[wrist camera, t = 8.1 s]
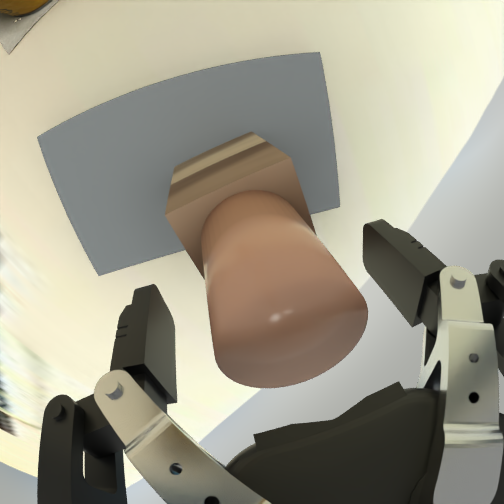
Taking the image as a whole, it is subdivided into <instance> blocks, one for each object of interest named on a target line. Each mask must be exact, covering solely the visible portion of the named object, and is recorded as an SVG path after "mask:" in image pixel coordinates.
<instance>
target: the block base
mask: <svg viewBox="0 0 504 504" xmlns="http://www.w3.org/2000/svg"><path fill="white" fill-rule="evenodd" d="M263 142H265V140H264V139H262V138H261V137H259V136H258V135H256V134H255V133H253V132H249V133H246V134H244V135H241V136H239V137H237V138H234V139H232V140H230V141H228V142H225V143H223V144H221V145H219V146H216V147H214V148H212V149H210V150H208V151H206V152H203V153H201V154H199V155H197V156H195V157H193V158H191V159H189V160H187V161H185V162H183V163H181V164H179V165H177V166H175V167H174V171H173V176H172V181H171V185H172V184H173V183H175V182H177V181H179V180H181V179H183V178H185V177H187V176H189V175H191V174H194V173H196V172H198V171H200V170H202V169H204V168H206V167H208V166H210V165H212V164H215V163H217V162H219V161H221V160H223V159H225V158H228V157H230V156H232V155H234V154H237V153H239V152H241V151H244V150H246V149H248V148H251V147H253V146H255V145H258V144H260V143H263Z"/></svg>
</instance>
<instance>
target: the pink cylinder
mask: <svg viewBox="0 0 504 504" xmlns="http://www.w3.org/2000/svg"><path fill="white" fill-rule="evenodd" d="M201 246H202V257H203V266H204V276H205V285H206V294H207V302H208V310H209V318H210V326H211V334H212V341H213V348H214V355H215V360H216V363H217V365H218V367H219V369H220V370H221V371H222V372H223V373H224V374H225V375H226V376H227V377H228V378H230V379H231V380H233V381H235V382H237V383H239V384H242V385H245V386H250V387H256V388H279V387H285V386H290V385H295V384H298V383H301V382H304V381H307V380H310V379H312V378H314V377H316V376H318V375H320V374H322V373H324V372H326V371H327V370H329V369H330V368H332V367H334V366H335V365H336V364H338V363H339V362H340V361H341V360H342V359H344V358H345V357H346V356H347V355H348V354H349V353H350V352H351V351H352V350H353V348H354V347H355V346H356V344H357V343H358V342H359V340H360V338H361V337H362V335H363V333H364V331H365V328H366V324H367V320H368V308H367V304H366V301H365V299H364V297H363V296H362V294H361V293H360V292H359V290H358V289H357V288H356V286H355V285H354V284H353V282H352V281H351V280H350V278H349V277H348V276H347V274H346V273H345V272H344V270H343V269H342V268H341V266H340V265H339V264H338V263H337V261H336V260H335V259H334V257H333V256H332V255H331V254H330V252H329V251H328V250H327V249H326V247H325V246H324V245H323V243H322V242H321V241H320V240H319V238H318V237H317V236H316V235H315V233H314V232H313V231H312V230H311V229H310V227H309V226H308V225H307V224H306V222H305V221H304V220H303V219H302V218H301V216H300V215H299V214H298V213H297V211H296V210H295V209H294V208H293V207H292V205H291V204H290V203H289V202H288V201H286V200H285V199H284V198H282V197H281V196H279V195H277V194H275V193H272V192H268V191H263V190H249V191H243V192H239V193H237V194H234V195H232V196H230V197H228V198H226V199H225V200H223V201H222V202H220V203H219V204H218V205H217V206H216V207H215V208H214V209H213V210H212V211H211V212H210V214H209V215H208V217H207V219H206V221H205V223H204V226H203V229H202V234H201Z"/></svg>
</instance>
